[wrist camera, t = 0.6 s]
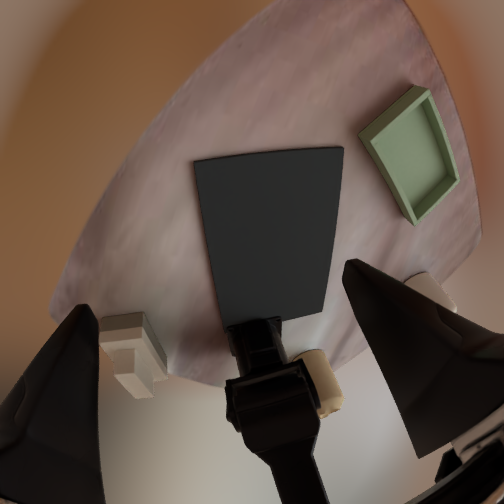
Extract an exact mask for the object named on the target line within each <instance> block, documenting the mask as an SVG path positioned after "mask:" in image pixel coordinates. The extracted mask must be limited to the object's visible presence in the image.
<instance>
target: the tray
mask: <svg viewBox="0 0 504 504" xmlns="http://www.w3.org/2000/svg"><path fill="white" fill-rule="evenodd" d="M358 136H359V138H360V139H361V141H362V143H363V144H364V146H365V147H366V149H367V150H368V152H369V154H370V155H371V157H372V159H373V160H374V162H375V164H376V165H377V167H378V169H379V170H380V172H381V174H382V176H383V177H384V179H385V181H386V183H387V184H388V186H389V188H390V190H391V192H392V194H393V195H394V197H395V199H396V201H397V203H398V205H399V207H400V209H401V211H402V213H403V215H404V217H405V218H406V219H407V220H408V221H409V222H410V223H411V224H412V225H413V226H414V227H415V226H416V225H417V224H418V223H420V222H421V221H422V220H423V219H424V218H425V217H426V216H427V215H428V214H429V213H430V212H431V211H432V210H433V209H434V208H435V207H436V206H437V205H438V204H439V203H440V202H441V201H442V200H443V199H444V198H445V197H446V196H447V195H448V193H449V192H450V191H451V190H452V189H453V188H454V187H455V186H456V185H457V184H458V183H459V182H460V178H459V174H458V170H457V166H456V163H455V159H454V156H453V153H452V149H451V146H450V143H449V140H448V137H447V134H446V131H445V128H444V125H443V123H442V120H441V117H440V115H439V112H438V110H437V107H436V105H435V102H434V100H433V98H432V95H431V93H430V91H429V89H428V88H424V87H420V86H416V85H414V86H413V87H412V88H411V89H410V90H408V91H407V92H406V93H405V94H404V95H403V96H401V97H400V98H399V99H398V100H397V101H396V102H395V103H393V104H392V105H391V106H390V107H389V108H388V109H386V110H385V111H384V112H383V113H382V114H381V115H380V116H378V117H377V118H376V119H375V120H374V121H373V122H372V123H370V124H369V125H368V126H367V127H366V128H365V129H364V130H362V131H361V132H360V133H359V134H358Z"/></svg>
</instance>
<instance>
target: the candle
mask: <svg viewBox="0 0 504 504" xmlns="http://www.w3.org/2000/svg"><path fill="white" fill-rule="evenodd" d="M299 358H302V359H303V361H304V363H305V365H306V367H307V369H308V371H309V374H310V376H311V378H312V380H313V382H314V384H315V387H316V389H317V392H318V395H319V399H320V402H321V409H319V410H317V413H318V416H319V418H320V419H323V418H325V417H327V416H328V415H329V414H330V413H332V412H336V411H337V410H340V408H341V405H342V403H343V401H344V396H343V394H342V391H341V389H340V387H339V385H338V382H337V380H336V378H335V376H334V373H333V371H332V369H331V367H330V364H329V362H328V360H327V358H326V356H325V354H324V352H323V351H321V350H311V351H308V352H305V353H303V354H301V355H299V356H298V357H296V358H295V359H294V360H293V361H296V360H297V359H299ZM293 361H292V362H293Z"/></svg>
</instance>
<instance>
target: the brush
mask: <svg viewBox="0 0 504 504" xmlns="http://www.w3.org/2000/svg"><path fill="white" fill-rule="evenodd" d="M99 345H100V346H101V347H102V349H103V350H104V351H105V353H106V354H107V355H108V356H109V358H110V359H111V360H112V361H113V363H114V369H113V375H114V376H115V377H116V379H117V380H118V381H119V382H120V383H121V384H122V385H123V386H124V387H125V388H126V389H127V391H129V393H130V394H131V395H132V396H133V397H134V398H135V399H143V398H154V397H155V395H154V381H162V380H168V372H167V356H166V354H165V353H164V351H163V349H162V347H161V345H160V343H159V342H158V340H157V338H156V336H155V334H154V332H153V330H152V328H151V326H150V324H149V322H148V320H147V318H146V316H145V314H144V312H139V313H132V314H125V315H118V316H111V317H103V318H102V323H101V329H100V335H99Z"/></svg>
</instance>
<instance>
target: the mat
mask: <svg viewBox="0 0 504 504" xmlns="http://www.w3.org/2000/svg"><path fill="white" fill-rule="evenodd" d="M343 156H344V148H343V147H321V148H304V149H290V150H278V151H268V152H258V153H249V154H241V155H233V156H226V157H219V158H212V159H205V160H199V161H194V168H195V175H196V182H197V188H198V194H199V201H200V207H201V213H202V219H203V224H204V230H205V236H206V241H207V247H208V252H209V258H210V263H211V268H212V273H213V279H214V284H215V289H216V294H217V299H218V303H219V308H220V313H221V318H222V322H223V327H224V332H225V333H227V331H226V328H227V327H228V326H232V325H237V324H242V323H247V322H252V321H257V320H261V319H266V318H271V317H276V316H281V318H282V321H286V320H290V319H295V318H299V317H303V316H307V315H311V314H315V313H319V312H322V310H323V304H324V299H325V294H326V288H327V283H328V277H329V271H330V265H331V259H332V252H333V245H334V238H335V231H336V224H337V216H338V208H339V199H340V190H341V180H342V169H343ZM276 320H279V319H276ZM229 330H232V328H230V329H229Z"/></svg>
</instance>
